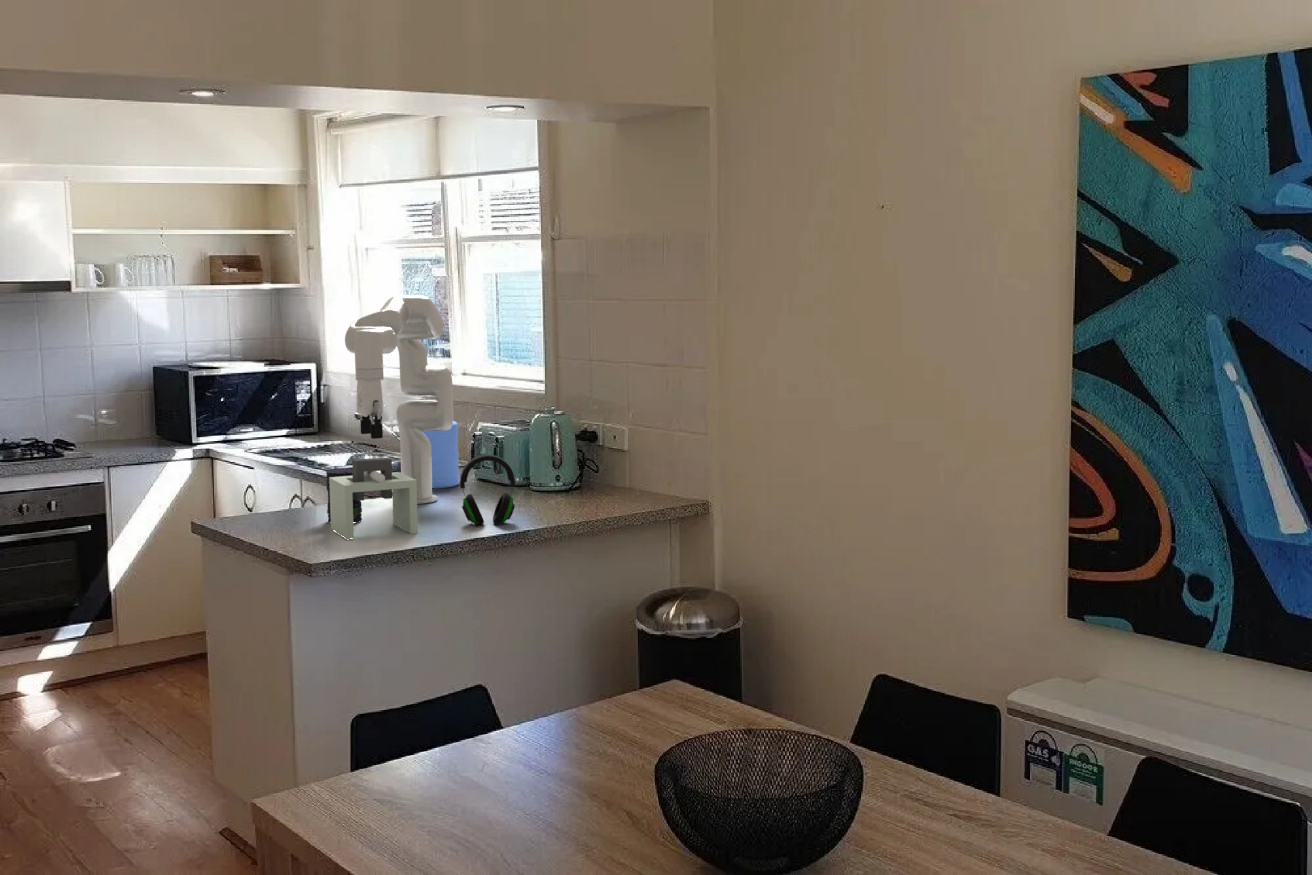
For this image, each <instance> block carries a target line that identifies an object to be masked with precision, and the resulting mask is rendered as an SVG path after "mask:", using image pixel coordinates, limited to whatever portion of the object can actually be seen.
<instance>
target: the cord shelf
mask: <svg viewBox="0 0 1312 875" xmlns="http://www.w3.org/2000/svg"><path fill="white" fill-rule="evenodd" d="M329 484H330V513H331V524H330V530H331V529H332V530H335V531H336V532H337V533H339V534H340V535H342V536H344V537H345V538H346V539H350V538H354V539H355V536H354V534H355V533H354V531H355V530H354V528H355V527H354V524H353V497H352V492H364V493H365V492H375V491H381V490H388V489H392V522H393V523H392V524H393V525H394V524H395V525H394V526H396V527H397V526H399V527H401V528H402V529H401V528H400V529H401V530H403V529H404V530H403V531H405V530H406V531H408V532H409V533H408V532H407V533H408V534H410V533H416V534H418V528H419V527H418V504H417V487H416V480H415V479H413V478H411V477H409V476H406V475H404V474H402V473H401V471H396V472H393V471H392V480H385V476H384V475H383V474H381V472H380V471H367V472H364V482H355V483H353V476H341V477H329ZM399 527H398V528H399ZM332 530H331V531H332ZM406 531H405V532H406Z"/></svg>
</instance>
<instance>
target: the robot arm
mask: <svg viewBox="0 0 1312 875" xmlns="http://www.w3.org/2000/svg"><path fill="white" fill-rule="evenodd" d="M443 331H444V321H443V317H442V315H441V313H440V312H439V310H438V308H437V306H436V305H435V303H434V302H433V300H432V299H430V298H429V297H428V296H426V295H425V296H424V295H396V296H392V297H390V298H389V299H388V300H387V301H386V302H385V303H384V305H383V306H382V307H381V308H380V309H379V311H376V312H373V313H371V314H367V315H365V316H361V317H359V318H357V319H356V320H354V321H352V323H351V324H350V325H349V326H348V328H347V330H346V332H345V336H344V344H345V347H346V350H348V352H350V353H351V354H354V364H355V365H354V366H355V370H354V372H355V381H357V383H356V384H357V385H356V413H357V414H358V415H359V418H360V423H359V424H360V434H361V435H370V439H375V440H377V439H383V438H384V434H383V432H384V430H383V414H384V413H383V412H384V411H383V410H384V408H383V407H384V404H383V403H384V402H383V391H382V390H383V389H382V388H383V387H382V383H381V382H382V381H383V380H384V378H385V377H384V356H383V355H387V354H391V353H392V352H394V351H395V350H396V348H397V352H398V356H399V358H398V359H399V361H398V362H399V382H400V389H401V392H402V394H404V395H405V396H408V397H409V396H410V397H435V398H436V400H426V399H425V400H423V399H422V400H421V399H420V400H419V399H418V400H417V399H416V400H415V399H414V400H413V399H411V400H405V401H403V402H401V403H400V404H398V406H397V408H396V412H395V413H396V414H395V416H396V421H397V427H398V433H399V443H400V444H399V446H400V449H399V450H400V473H402V474H404V475H406V476H409V477H411V478H413V479H415V480H416V487H417V505H419V504H420V505H421V504H430V503H433V502H436V501H438V495H435V494H433V489H432V457H431V443H430V441H429V439H428V438H427V437H426V435H425V434H424V433H423V431H447V430H449V429H450V428H451V427H452V425H453V421H454V393H453V392H454V390H453V388H454V387H453V377H452V374H451V371H450V369H449V368H448V367H447V366H445V365H430V364H428V350H427V347H426V345H425V344H424V342H423V341H422V340H437V339H440V338H441V336H442V334H443Z"/></svg>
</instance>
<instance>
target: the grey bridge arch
mask: <svg viewBox="0 0 1312 875" xmlns="http://www.w3.org/2000/svg"><path fill="white" fill-rule="evenodd" d="M351 461H352V463H351V465H352V467H351V468H353V483H355V482H364V472H367V471H376V472H380V473H381V474H383V475H384V476H385V480H392V472H393V459H392V458H390V457H373V458H370V457H369V458H354V459H353V458H352V460H351ZM380 498H382V499H384V500H387V499H391V500H393V496H392V489H388V490H380ZM353 499H354V500H356V501H361V502H362V501H365V491H364V492H353Z"/></svg>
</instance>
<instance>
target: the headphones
mask: <svg viewBox="0 0 1312 875" xmlns="http://www.w3.org/2000/svg"><path fill="white" fill-rule="evenodd" d="M485 461H487V462H488V461H491V462H496V463H498V464H500V465H501V466H502V468H503V469H504V470H505V473H506V476H507V479H508V480H509V486H510V487H511V490H510V493H508V492H503V493H502V494H501V496H500V497H499V498H498V501H497V504H496V506H495V510H494V511H493V512H494V513H493V515H492V516H493V517H492V522H493V523H494V524H495V525H499V524H501V525H504V524H505V522H506V521H508V520H510V519H511V517H512V515H513V513H514V509H515V507H516V506H515V503H514V497H513V496H512V493H513V490H514V487H515V486H516V480H515V474H514V472H513V470H512V467H511V466H510V465H509V463H508V462H507V461H506V460H504V458H502V457H500V456H497V455H495V454H487V453H485V454H481V455H476V456H474V457H473V458H472V459H470V460H468V462H466V464H465V465H464V467H463V469H462V470H461V474H460V477H459V486H460V489H462V492H463V494H464V498H463V499H462V501H463V502H462V505H461V509H462V510H463V512H464V515H465V517H466V519H467V521H468V522H470V523H472V524H473V525H474V526H477V525H480V526H481V525H483V524H484V523H485V520H484V518H483V515H482V513H481V511H480V509H479V506H478V505H477V502H476V499H475V498H474V496H473V494H472V493H469V494H467V495H466V494H465V490H464V489H465V488H466V486H465V483H467V482H468V476H469V473H470V471H471V470H472V469H473V467H474V466H476V465H477V464H479V463H482V462H485Z"/></svg>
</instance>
